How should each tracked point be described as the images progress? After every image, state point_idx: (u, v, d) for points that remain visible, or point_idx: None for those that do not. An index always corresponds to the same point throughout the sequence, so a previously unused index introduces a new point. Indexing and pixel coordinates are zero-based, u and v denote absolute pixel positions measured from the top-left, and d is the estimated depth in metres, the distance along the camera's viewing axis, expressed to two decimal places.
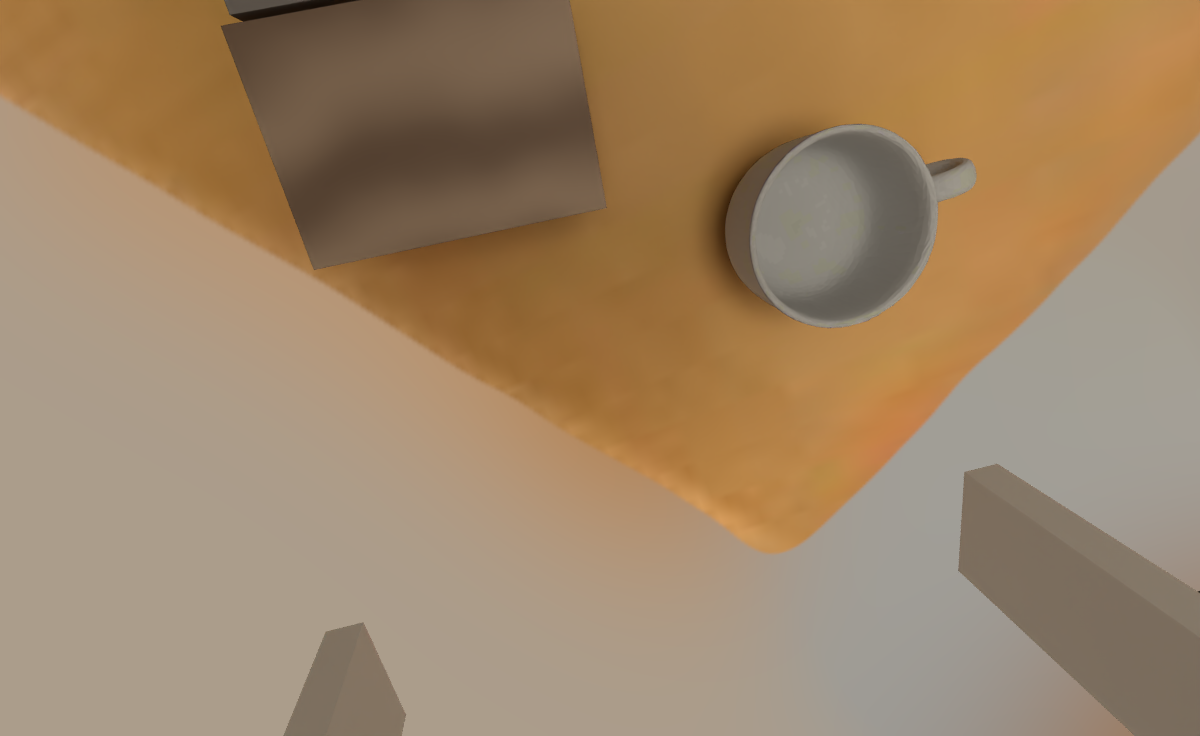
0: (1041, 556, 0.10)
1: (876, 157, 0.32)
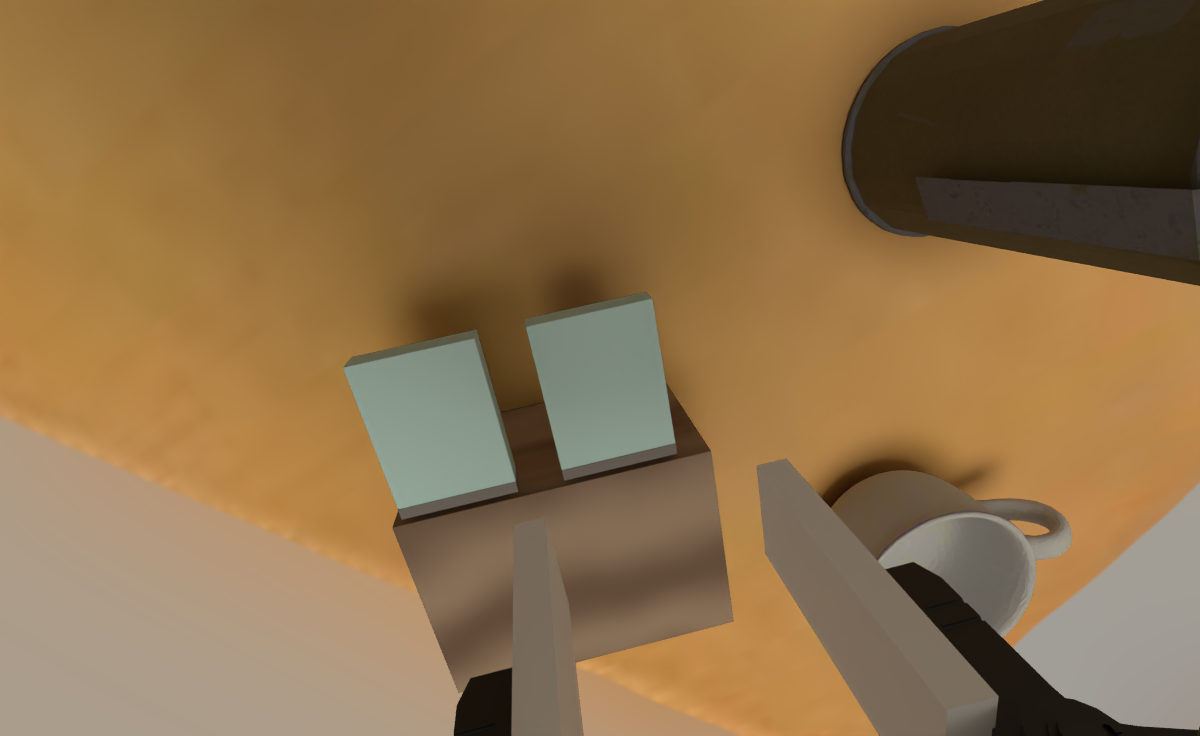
0: (795, 537, 0.12)
1: None
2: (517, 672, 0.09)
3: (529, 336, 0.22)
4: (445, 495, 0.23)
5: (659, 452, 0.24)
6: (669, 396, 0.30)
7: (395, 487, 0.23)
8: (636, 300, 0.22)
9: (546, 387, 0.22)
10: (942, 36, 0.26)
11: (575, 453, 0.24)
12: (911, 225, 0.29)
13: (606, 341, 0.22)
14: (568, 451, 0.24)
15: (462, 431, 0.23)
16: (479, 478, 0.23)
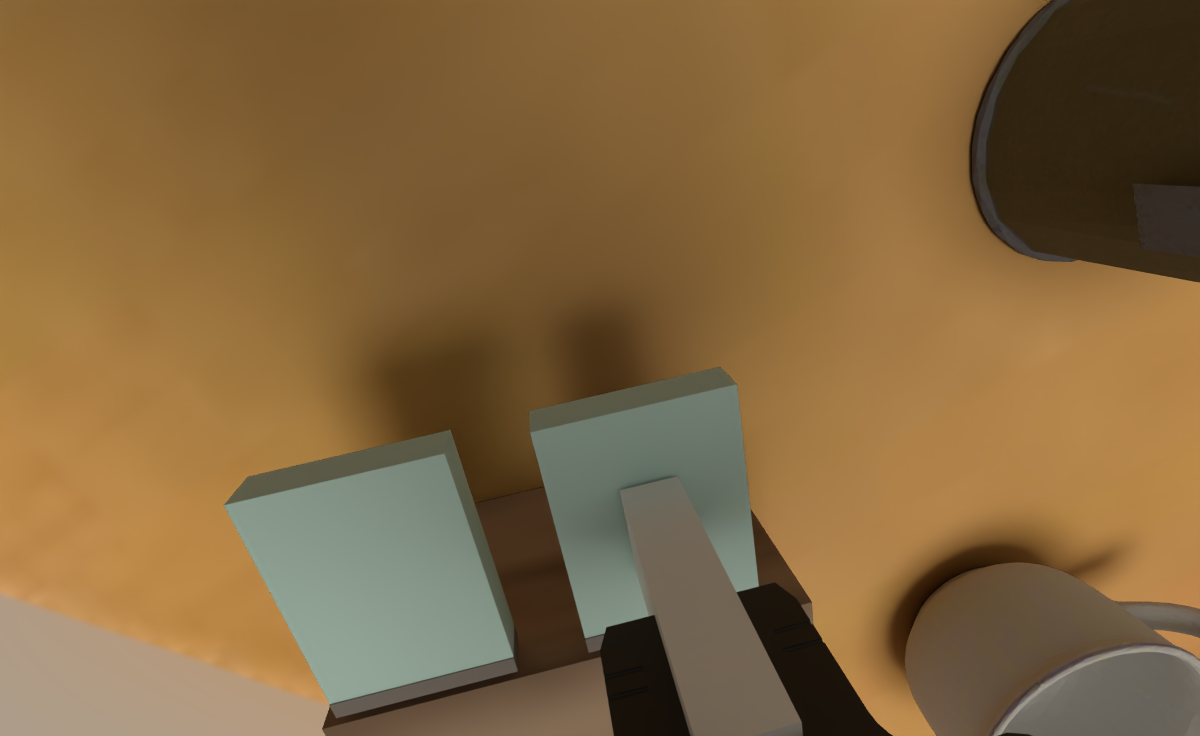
0: None
1: None
2: (663, 617, 0.10)
3: (535, 447, 0.13)
4: (403, 681, 0.15)
5: None
6: None
7: (323, 674, 0.15)
8: (709, 386, 0.13)
9: (562, 523, 0.14)
10: None
11: (606, 614, 0.15)
12: (1076, 250, 0.20)
13: (660, 451, 0.14)
14: (595, 612, 0.15)
15: (427, 591, 0.14)
16: (457, 655, 0.15)
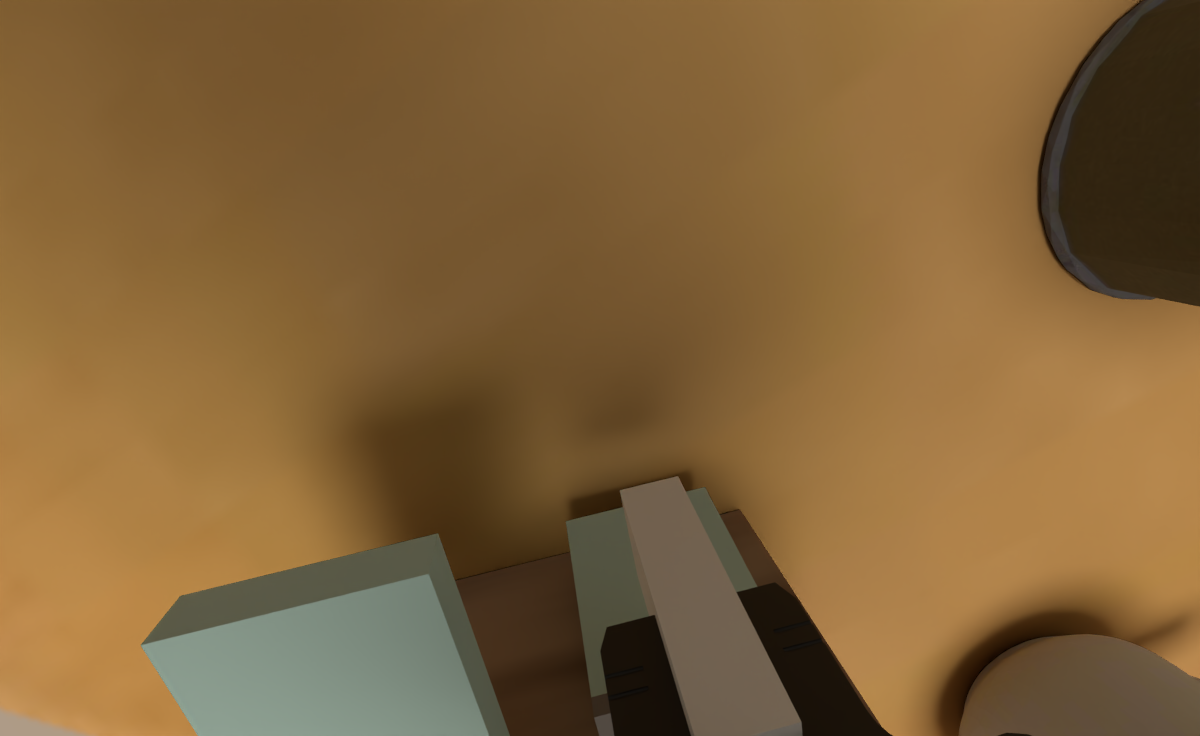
0: None
1: None
2: (664, 616, 0.10)
3: (568, 528, 0.19)
4: None
5: None
6: (765, 561, 0.19)
7: None
8: (689, 496, 0.20)
9: (580, 576, 0.17)
10: None
11: None
12: (1171, 290, 0.17)
13: None
14: None
15: None
16: None
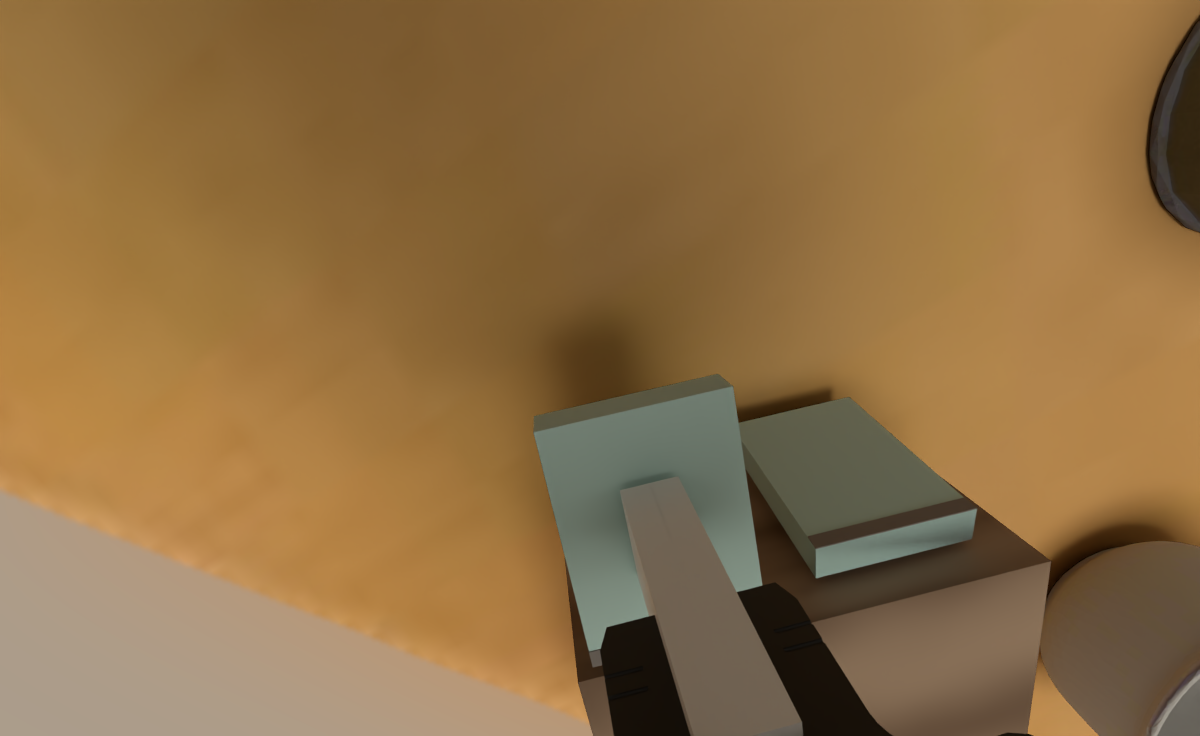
0: None
1: None
2: (663, 617, 0.10)
3: None
4: None
5: (945, 507, 0.17)
6: None
7: (589, 617, 0.15)
8: (835, 404, 0.23)
9: (762, 461, 0.20)
10: None
11: (820, 517, 0.17)
12: None
13: (815, 424, 0.22)
14: (809, 515, 0.17)
15: None
16: None
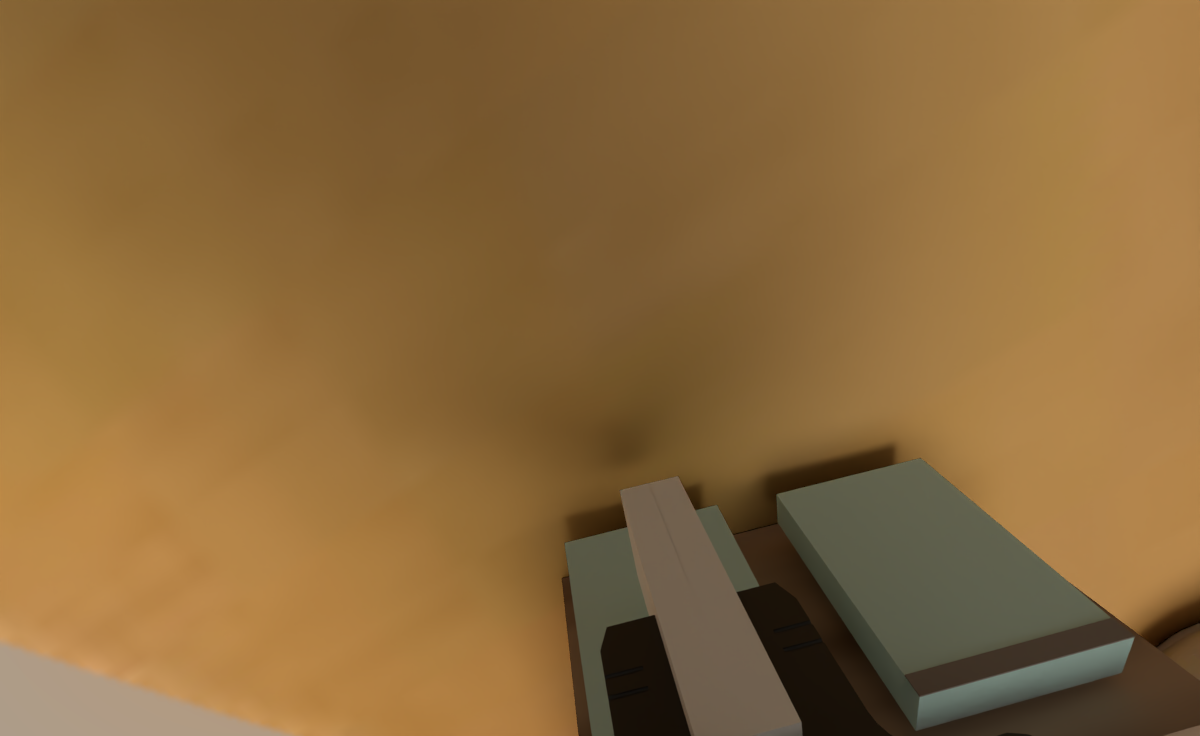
0: None
1: None
2: (663, 616, 0.10)
3: (783, 501, 0.18)
4: None
5: (1090, 634, 0.12)
6: None
7: (598, 710, 0.13)
8: (903, 467, 0.19)
9: (823, 550, 0.16)
10: None
11: (916, 642, 0.13)
12: None
13: (885, 497, 0.17)
14: (900, 639, 0.13)
15: None
16: None
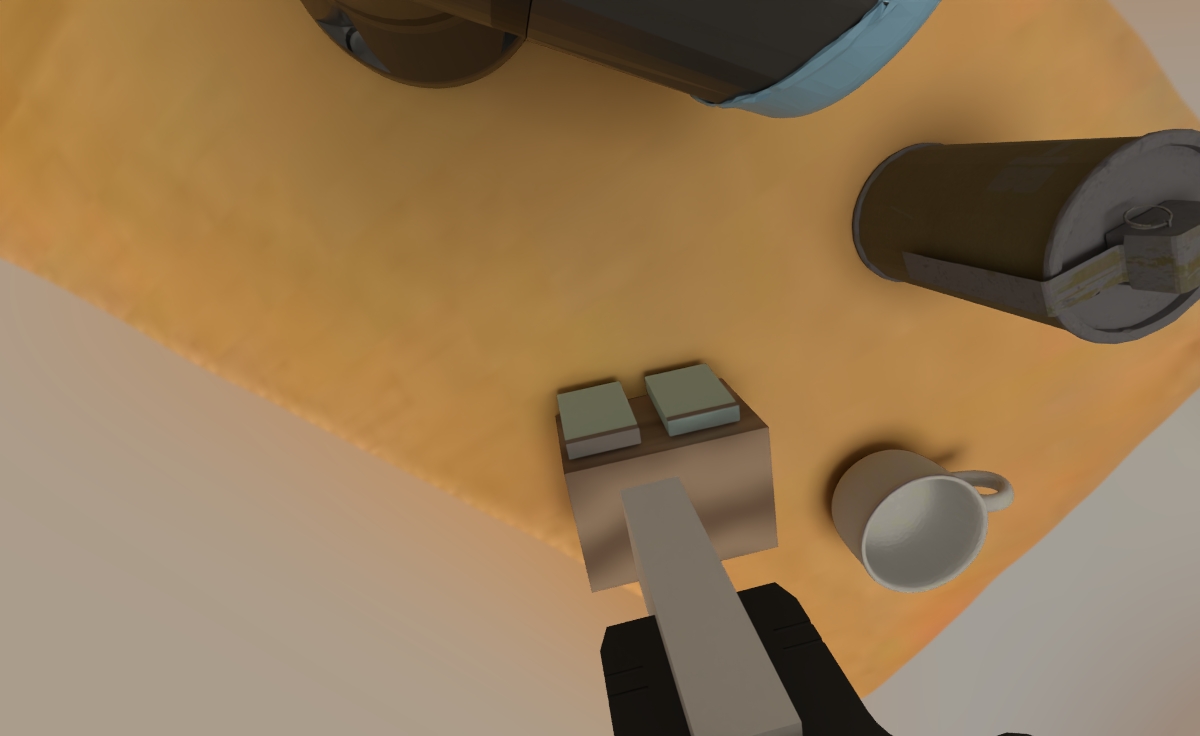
0: None
1: None
2: (663, 616, 0.10)
3: (646, 379, 0.44)
4: (594, 433, 0.38)
5: (726, 405, 0.38)
6: (731, 392, 0.43)
7: (566, 431, 0.39)
8: (698, 367, 0.44)
9: (655, 391, 0.42)
10: (920, 155, 0.39)
11: (673, 411, 0.39)
12: (899, 277, 0.42)
13: (685, 375, 0.43)
14: (669, 410, 0.39)
15: (608, 408, 0.40)
16: (615, 424, 0.38)
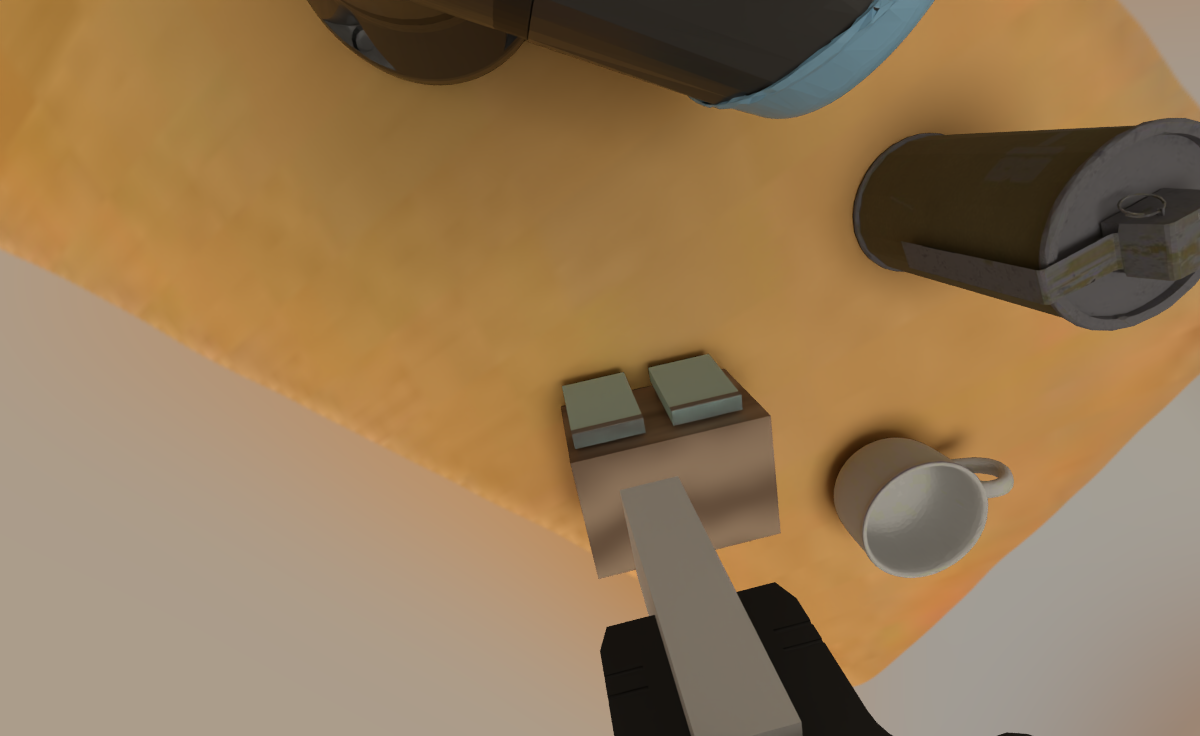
0: None
1: None
2: (663, 617, 0.10)
3: (650, 369, 0.44)
4: (599, 423, 0.39)
5: (729, 394, 0.39)
6: (734, 382, 0.44)
7: (572, 422, 0.39)
8: (701, 358, 0.45)
9: (658, 382, 0.42)
10: (919, 146, 0.40)
11: (677, 400, 0.39)
12: (900, 266, 0.42)
13: (688, 366, 0.44)
14: (672, 400, 0.40)
15: (613, 399, 0.41)
16: (620, 414, 0.39)
